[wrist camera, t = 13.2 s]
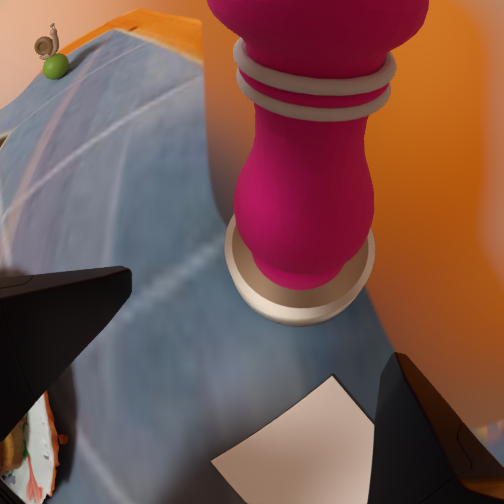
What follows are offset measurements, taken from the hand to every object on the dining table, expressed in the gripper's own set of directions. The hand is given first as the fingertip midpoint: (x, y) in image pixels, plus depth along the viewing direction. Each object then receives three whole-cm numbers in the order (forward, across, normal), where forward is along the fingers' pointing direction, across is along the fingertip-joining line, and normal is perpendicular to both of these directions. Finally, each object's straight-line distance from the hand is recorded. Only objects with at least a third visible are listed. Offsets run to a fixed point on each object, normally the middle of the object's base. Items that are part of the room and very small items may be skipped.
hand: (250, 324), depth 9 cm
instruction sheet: (+3, -8, +14) cm, 16 cm away
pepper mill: (+11, 0, +1) cm, 11 cm away
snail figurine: (+31, +51, -14) cm, 62 cm away
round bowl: (+14, 0, +3) cm, 14 cm away
